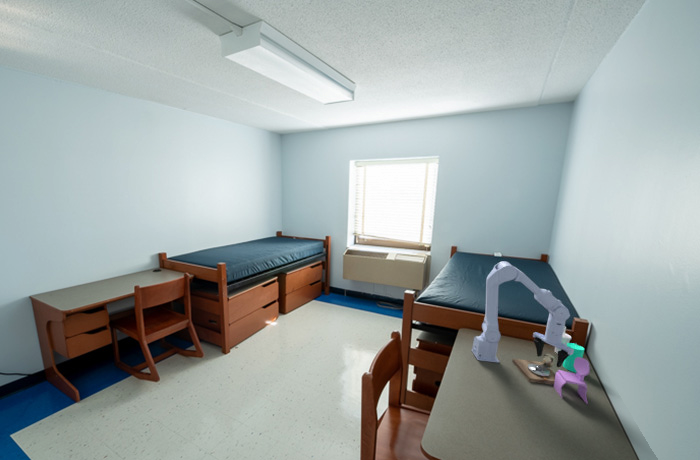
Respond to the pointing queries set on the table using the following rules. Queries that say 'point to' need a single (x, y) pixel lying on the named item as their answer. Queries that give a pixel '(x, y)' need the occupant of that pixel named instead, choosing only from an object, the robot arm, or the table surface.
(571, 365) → the candle
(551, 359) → the crank dial
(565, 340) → the smoothie
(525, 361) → the stand
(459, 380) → the table surface
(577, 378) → the chair
